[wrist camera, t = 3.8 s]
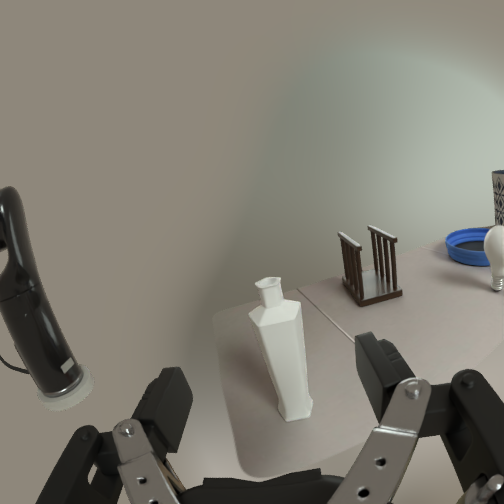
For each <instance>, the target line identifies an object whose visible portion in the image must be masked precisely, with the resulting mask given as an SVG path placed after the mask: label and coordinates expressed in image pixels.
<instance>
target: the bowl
mask: <svg viewBox="0 0 504 504" xmlns="http://www.w3.org/2000/svg"><path fill="white" fill-rule="evenodd" d="M489 230H490V229H487V228H469V229H462V230H458V231H455V232H453V233H450V234H449V235H448V236H447V237H446V241H445V242H446V247H447V249H448V254H449V255H450V257H451V258H453V259H454V260H456V261H458V262H461V263H464V264H469V265H476V266H490V263H489V260H488V259H487V257H486V254H485V251H484V239H485V236H486V234H487V232H488V231H489Z"/></svg>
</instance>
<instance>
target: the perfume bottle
mask: <svg viewBox="0 0 504 504" xmlns="http://www.w3.org/2000/svg"><path fill="white" fill-rule="evenodd" d="M280 280H281V278H280V277H267V278H264V279H262V280H260V281H258V282H256V283H255V285H256V286H257V287H258V291H259V296H260V300H261V305H260V306H258V307H257V308H255V309H254V310H252V311H251V312H250V313H248V315H249V318H250V321H251V324H252V327H253V329H254V332H255V335H256V338H257V341H258V344H259V346H260V349H261V352H262V355H263V358H264V360H265V363H266V366H267V369H268V371H269V374H270V377H271V380H272V382H273V385H274V388H275V391H276V393H277V396H278V399H279V403H278V410H279V412H280V413H281V415H282V417H283V418H284V420H285V421H286V422H289V421H294V420H299V419H304V418H308V417H310V415H311V411H312V406H313V400H312V398H311V397H310V395H309V394H308V380H307V367H306V355H305V343H304V333H303V322H302V312H301V303H300V302H297V301H291V300H285V299H284V298H283V294H282V289H281V285H280Z"/></svg>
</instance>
